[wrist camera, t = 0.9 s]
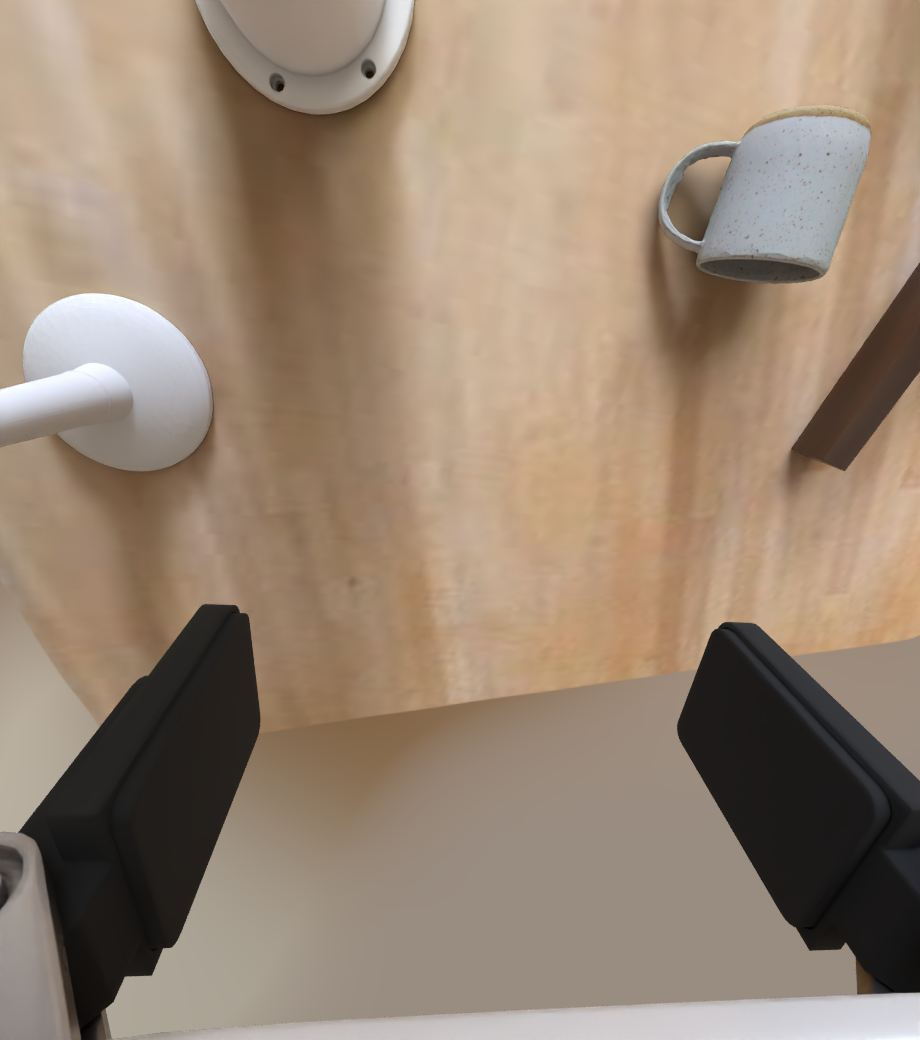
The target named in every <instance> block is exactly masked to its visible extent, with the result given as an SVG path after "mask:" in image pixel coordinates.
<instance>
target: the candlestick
mask: <svg viewBox="0 0 920 1040" xmlns="http://www.w3.org/2000/svg"><path fill="white" fill-rule="evenodd" d="M23 369H24V375H25V380H26V383H24V384H20V385H16V386H12V387H8V388H4V389H0V447H3V446H7V445H11V444H15V443H19V442H23V441H27V440H31V439H35V438H39V437H43V436H47V435H51V434H55V433H57V434H58V435H59V436H60V437H61V438H62V439H63V440H64V441H65V442H66V443H68V444H69V445H70V446H71V447H73V448H74V449H76V450H77V451H79V452H80V453H82V454H83V455H85V456H87V457H89V458H91V459H93V460H95V461H97V462H99V463H102V464H104V465H107V466H110V467H113V468H117V469H122V470H128V471H153V470H159V469H163V468H166V467H169V466H172V465H174V464H176V463H178V462H180V461H182V460H183V459H185V458H186V457H188V456H189V455H190V454H192V453H193V452H194V451H195V450H196V449H197V448H198V446H199V445H200V444H201V443H202V441H203V440H204V438H205V436H206V434H207V432H208V429H209V427H210V423H211V419H212V413H213V396H212V389H211V385H210V381H209V378H208V375H207V372H206V369H205V367H204V365H203V363H202V361H201V359H200V357H199V355H198V354H197V352H196V351H195V349H194V348H193V346H192V345H191V343H190V342H189V341H188V340H187V338H186V337H185V336H184V335H183V334H182V333H181V332H180V331H179V330H178V329H177V328H176V327H175V326H174V325H173V324H172V323H170V322H169V321H168V320H167V319H165V318H164V317H163V316H161V315H160V314H158V313H157V312H155V311H154V310H152V309H150V308H148V307H146V306H144V305H142V304H140V303H138V302H135V301H133V300H130V299H127V298H123V297H119V296H115V295H108V294H80V295H74V296H70V297H67V298H64V299H62V300H59V301H57V302H55V303H54V304H52V305H50V306H49V307H47V308H46V309H45V310H44V311H43V312H42V313H41V314H40V315H39V316H38V317H37V318H36V319H35V321H34V322H33V324H32V325H31V327H30V329H29V331H28V334H27V336H26V340H25V343H24V349H23Z"/></svg>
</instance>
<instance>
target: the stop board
mask: <svg viewBox="0 0 920 1040" xmlns="http://www.w3.org/2000/svg"><path fill="white" fill-rule="evenodd" d="M919 372H920V264H919V265H918V267H917V268H916V270H915V271H914V273H913V274H912V275H911V277H910V278H909V280H908V281H907V283H906V284H905V286H904V287H903V288H902V290H901V291H900V293H899V294H898V296H897V297H896V299H895V300H894V301H893V303H892V304H891V306H890V307H889V309H888V310H887V312H886V313H885V314H884V316H883V317H882V319H881V320H880V322H879V323H878V325H877V326H876V327H875V329H874V330H873V332H872V333H871V335H870V336H869V338H868V339H867V340H866V342H865V343H864V345H863V346H862V348H861V349H860V351H859V352H858V353H857V355H856V356H855V358H854V359H853V361H852V362H851V364H850V365H849V366H848V368H847V369H846V371H845V372H844V374H843V375H842V377H841V378H840V379H839V381H838V382H837V384H836V385H835V387H834V388H833V390H832V391H831V392H830V394H829V395H828V397H827V398H826V400H825V401H824V403H823V404H822V405H821V407H820V408H819V410H818V411H817V413H816V414H815V416H814V417H813V418H812V420H811V421H810V423H809V424H808V426H807V427H806V429H805V430H804V432H803V433H802V434H801V436H800V437H799V439H798V440H797V442H796V443H795V445H794V446H793V447H792V450H794V451H796V452H799V453H801V454H803V455H805V456H807V457H810V458H812V459H814V460H817V461H819V462H822V463H825V464H827V465H830V466H832V467H835V468H838V469H840V470H843V471H845V470H846V469H847V468H848V466H849V465H850V464H851V462H852V461H853V460H854V458H855V457H856V456H857V454H858V453H859V452H860V450H861V449H862V448H863V446H864V445H865V444H866V442H867V441H868V440H869V438H870V437H871V436H872V434H873V433H874V432H875V430H876V429H877V428H878V426H879V425H880V424H881V422H882V421H883V420H884V418H885V417H886V416H887V414H888V413H889V412H890V410H891V409H892V408H893V406H894V405H895V404H896V402H897V401H898V400H899V398H900V397H901V396H902V394H903V393H904V392H905V390H906V389H907V388H908V386H909V385H910V384H911V382H912V381H913V380H914V378H915V377H916V376H917V374H918V373H919Z"/></svg>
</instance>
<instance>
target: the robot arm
mask: <svg viewBox="0 0 920 1040" xmlns="http://www.w3.org/2000/svg"><path fill="white" fill-rule="evenodd" d="M195 2H196V5H197V7H198V9H199V11H200V13H201V15H202V18H203V20H204V22H205V24H206V26H207V29H208V31H209V32H210V34H211V35H212V37H213V39H214V40H215V42H216V43H217V45H218V46H219V48H220V50H221V51H222V53H223V54H224V56H225V57H226V58H227V59H228V61H229V62H230V63H231V64H232V66H233V67H234V68H235V69H236V71H237V72H238V73H239V74H240V75H241V76H242V77H243V78H244V79H245V80H246V81H247V82H248V83H249V84H250V85H251V86H252V87H254V88H255V89H256V90H257V91H259V92H260V93H262V94H263V95H265V96H266V97H267V98H269V99H270V100H272V101H273V102H275V103H278V104H280V105H282V106H284V107H287V108H289V109H291V110H294V111H298V112H303V113H308V114H334V113H337V112H341V111H345V110H348V109H351V108H353V107H355V106H356V105H358V104H360V103H362V102H364V101H365V100H367V99H368V98H369V97H371V96H372V95H373V94H374V93H375V92H376V91H377V90H378V89H379V88H380V87H382V86H383V84H384V83H385V82H386V80H387V79H388V77H389V76H390V75H391V73H392V72H393V70H394V69H395V67H396V65H397V63H398V61H399V59H400V57H401V55H402V53H403V50H404V48H405V46H406V42H407V39H408V35H409V32H410V28H411V24H412V19H413V11H414V2H415V0H195ZM368 71H372V72H373V73H374V76H373V78H371V79H368V78H367V77H366V74H367V72H368ZM279 84H283V85H284V89H283V90H282V91H280V92H278V91H277V87H278V85H279ZM259 729H260V709H259V700H258V692H257V683H256V674H255V666H254V657H253V648H252V639H251V631H250V622H249V617H248V615H247V614H246V613H240V612H239V609H238V607H237V606H235V605H214V604H205V605H202V606H201V607H200V608H199V609H198V611H197V612H196V613H195V614H194V616H193V617H192V618H191V620H190V621H189V622H188V624H187V625H186V626H185V628H184V629H183V630H182V632H181V633H180V634H179V636H178V637H177V638H176V640H175V641H174V642H173V644H172V645H171V646H170V648H169V649H168V650H167V652H166V653H165V654H164V656H163V657H162V658H161V660H160V661H159V662H158V664H157V665H156V666H155V668H154V669H153V670H152V672H151V673H150V674H149V676H144V677H142V678H140V679H138V680H137V681H136V682H135V683H134V684H133V685H132V686H131V688H130V689H129V690H128V692H127V693H126V694H125V695H124V697H123V698H122V699H121V701H120V702H119V703H118V704H117V706H116V707H115V708H114V710H113V711H112V712H111V713H110V715H109V716H108V717H107V719H106V720H105V721H104V723H103V724H102V725H101V726H100V728H99V729H98V730H97V732H96V733H95V734H94V735H93V737H92V738H91V739H90V741H89V742H88V743H87V745H86V746H85V747H84V748H83V750H82V751H81V752H80V753H79V755H78V756H77V757H76V759H75V760H74V761H73V763H72V764H71V765H70V766H69V768H68V769H67V770H66V772H65V773H64V774H63V775H62V777H61V778H60V779H59V781H58V782H57V783H56V784H55V786H54V787H53V789H52V790H51V791H50V792H49V794H48V795H47V796H46V798H45V799H44V800H43V801H42V803H41V804H40V805H39V806H38V808H37V809H36V810H35V812H34V813H33V814H32V815H31V817H30V818H29V819H28V821H27V822H26V823H25V824H24V826H23V827H22V829H21V830H20V831H19V832H18V833H14V832H0V1040H920V781H919V780H918V779H917V778H916V777H915V776H914V775H913V774H912V773H911V772H910V771H909V770H908V769H907V768H906V767H905V766H904V765H903V764H902V763H901V762H900V761H898V760H897V759H896V758H895V757H894V756H893V755H892V754H891V753H890V752H889V751H888V750H887V749H886V748H885V747H884V746H883V745H882V744H881V743H880V742H879V741H877V739H876V738H875V737H873V736H872V735H871V734H870V733H869V732H868V731H867V730H866V729H865V728H864V727H863V726H862V725H861V724H860V723H859V722H858V721H857V720H856V719H855V718H854V717H853V716H852V715H850V713H849V712H847V711H846V710H845V709H844V708H843V707H842V706H841V705H840V704H839V703H838V702H837V701H836V700H835V699H834V698H833V697H832V696H831V695H830V694H829V693H828V692H827V691H826V690H825V689H824V688H822V687H821V686H820V685H819V684H818V683H817V682H816V681H815V680H814V679H813V678H812V677H811V676H810V675H809V674H808V673H807V672H806V671H805V670H804V669H803V668H801V666H800V665H798V664H797V663H796V662H795V661H794V660H793V659H792V658H791V657H790V656H789V655H788V654H787V653H786V652H785V651H784V650H783V649H782V648H781V647H780V646H779V645H778V644H777V643H776V642H775V641H774V640H773V639H771V638H770V637H769V636H768V635H767V634H766V633H765V632H764V631H763V630H762V629H761V628H760V627H759V626H757V625H756V624H753V623H737V622H725V623H722V624H721V625H720V626H719V628H718V629H715V630H714V631H713V632H712V634H711V636H710V638H709V641H708V644H707V646H706V649H705V652H704V654H703V657H702V660H701V662H700V665H699V667H698V670H697V673H696V675H695V678H694V681H693V683H692V686H691V689H690V692H689V694H688V697H687V699H686V702H685V705H684V707H683V710H682V713H681V715H680V718H679V721H678V725H677V730H678V736H679V739H680V741H681V743H682V745H683V747H684V748H685V750H686V752H687V753H688V755H689V757H690V759H691V760H692V762H693V764H694V765H695V767H696V769H697V771H698V772H699V774H700V775H701V777H702V779H703V781H704V782H705V784H706V786H707V788H708V789H709V791H710V793H711V794H712V796H713V798H714V799H715V801H716V803H717V805H718V806H719V808H720V810H721V811H722V813H723V815H724V817H725V818H726V820H727V822H728V823H729V825H730V827H731V829H732V830H733V832H734V834H735V836H736V837H737V839H738V840H739V842H740V844H741V846H742V847H743V849H744V851H745V853H746V854H747V856H748V858H749V859H750V861H751V863H752V865H753V866H754V868H755V869H756V871H757V873H758V875H759V877H760V878H761V880H762V882H763V883H764V885H765V887H766V888H767V890H768V892H769V894H770V895H771V897H772V898H773V900H774V902H775V904H776V906H777V907H778V909H779V911H780V912H781V914H782V915H783V917H784V918H785V920H786V921H787V922H788V923H789V924H791V925H792V926H794V927H796V928H797V930H798V932H799V933H800V935H801V937H802V938H803V940H804V942H805V944H806V945H807V947H808V949H809V950H810V951H812V950H838V949H841V948H842V947H843V945H844V944H845V943H847V945H848V946H849V948H850V949H851V950H852V952H853V954H854V955H855V957H856V975H857V995H844V996H843V995H841V996H820V997H819V996H817V997H793V998H769V999H746V1000H724V1001H723V1000H722V1001H701V1002H680V1003H659V1004H637V1005H616V1006H596V1007H575V1008H555V1009H535V1010H514V1011H494V1012H477V1013H460V1014H441V1015H440V1014H439V1015H422V1016H421V1015H420V1016H402V1017H384V1018H365V1019H346V1020H328V1021H309V1022H295V1023H281V1024H268V1025H254V1026H241V1027H228V1028H215V1029H203V1030H188V1031H175V1032H162V1033H155V1034H147V1035H140V1036H133V1037H125V1038H117V1039H112V1038H111V1033H110V1029H109V1024H108V1019H107V1014H106V1010H105V1009H106V1008H107V1007H108V1006H109V1005H110V1004H112V1003H113V1002H114V999H115V997H116V995H117V993H118V991H119V988H120V986H121V984H122V982H123V979H124V977H126V976H151V975H152V974H153V972H154V969H155V967H156V964H157V962H158V959H159V957H160V954H161V952H162V949H163V948H171V947H173V945H174V944H175V943H176V941H177V940H178V938H179V936H180V933H181V931H182V929H183V926H184V924H185V921H186V919H187V916H188V914H189V911H190V908H191V906H192V903H193V901H194V898H195V895H196V893H197V890H198V888H199V885H200V883H201V880H202V878H203V875H204V873H205V870H206V868H207V865H208V862H209V860H210V857H211V855H212V852H213V850H214V847H215V845H216V842H217V839H218V837H219V834H220V832H221V829H222V827H223V824H224V822H225V819H226V816H227V814H228V811H229V808H230V806H231V804H232V801H233V799H234V796H235V793H236V791H237V788H238V786H239V783H240V781H241V778H242V776H243V773H244V770H245V768H246V765H247V763H248V760H249V758H250V755H251V753H252V750H253V747H254V745H255V742H256V740H257V737H258V733H259Z"/></svg>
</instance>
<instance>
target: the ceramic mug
mask: <svg viewBox="0 0 920 1040" xmlns="http://www.w3.org/2000/svg"><path fill="white" fill-rule="evenodd" d="M870 138H871V127H870V125H869V123H868V122H867V120H866V118H865V117H864V116H863V115H862V114H860V113H857V112H855V111H853V110H851V109H848V108H843V107H838V106H824V105H811V106H801V107H794V108H789V109H784V110H781V111H778V112H775V113H772V114H770V115H768V116H766V117H764V118H763V119H761V120H760V121H759V122H757V123H756V124H754V125H753V126H752V127H751V128H750V129H749V130H748V131H747V132H746V133H745V134H744V136H743V137H742V139H741V140H740V141H739V142H737V143H735V142H732V141H727V142H726V141H720V142H711V143H708V144H705V145H702V146H699V147H697V148H695V149H694V150H692V151H691V152H689V153H688V154H687V155H686V156H684V157H683V158H682V159H681V160H680V161H679V162H678V163H677V164H676V165H675V166H674V167H673V169H672V170H671V172H670V174H669V175H668V178H667V180H666V182H665V183H664V186H663V189H662V192H661V195H660V199H659V205H658V216H659V223H660V226H661V228H662V230H663V231H664V233H665V235H666V236H667V237H668V238H669V239H670V240H671V241H672V242H673V243H675V244H677V245H679V246H680V247H683V248H685V249H687V250H689V251H694V252H696V253H698V256H697V259H696V266H697V267H698V269H700V270H702V271H703V272H705V273H707V274H711V275H715V276H718V277H721V278H726V279H732V280H736V281H744V282H755V283H770V284H779V283H787V284H788V283H799V282H806V281H812V280H815V279H819V278H821V277H823V276H824V275H825V274H826V272H827V271H828V269H829V266H830V263H831V260H832V257H833V254H834V251H835V248H836V245H837V242H838V240H839V237H840V234H841V231H842V228H843V226H844V223H845V220H846V217H847V214H848V211H849V208H850V205H851V202H852V199H853V196H854V193H855V190H856V188H857V185H858V183H859V180H860V178H861V175H862V172H863V169H864V166H865V163H866V160H867V155H868V150H869V144H870ZM718 156H725V157H730V158H731V162H730V165H729V167H728V170H727V171H726V175H725V178H724V181H723V184H722V186H721V192H720V194H719V197H718V200H717V203H716V205H715V208H714V210H713V213H712V215H711V218H710V220H709V224H708V227H707V229H706V232H705V235H704V238H703V240H702V241H694V240H692V239H690V238H689V237H686V236H685V235H683V234H682V233H680V232H678V231H677V230H676V229H675V228H674V226H673V224H672V222H671V221H670V217H669V216H668V215H667V209H668V206H669V203H670V200H671V198H672V195H673V193H674V191H675V189H676V187H677V185H678V183H679V182H680V181H681V180H682V179H683V175H684V171H685V170H686V168H687V167H688V166H690V165H691V164H693V163H695V162H696V161H698V160H701V159H706V158H709V157H718Z"/></svg>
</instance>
